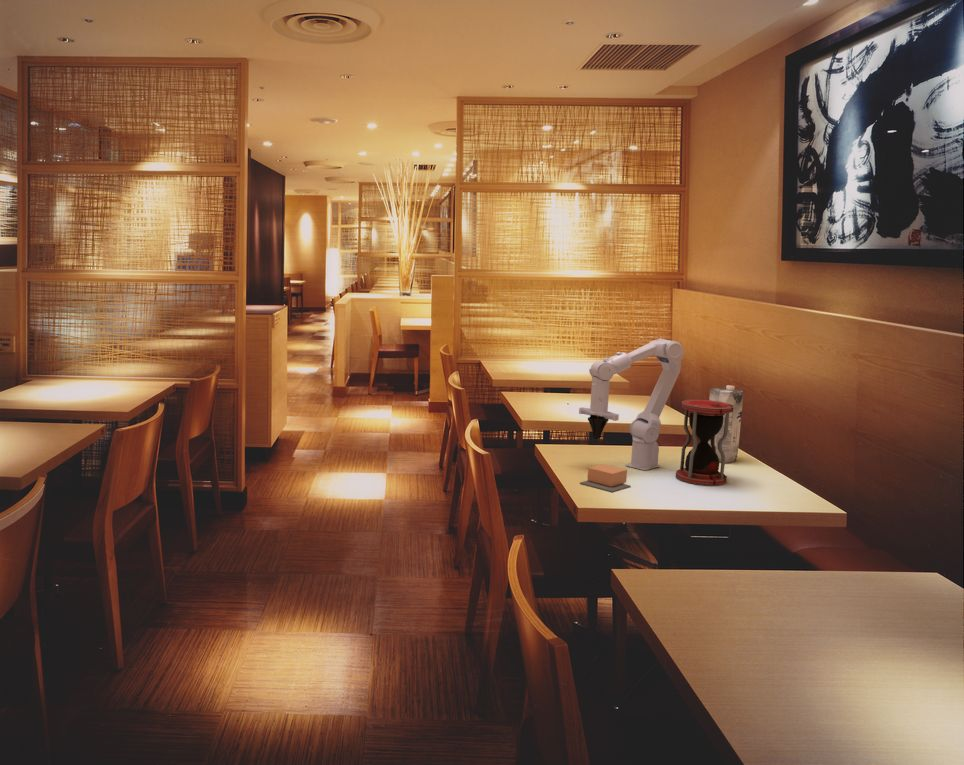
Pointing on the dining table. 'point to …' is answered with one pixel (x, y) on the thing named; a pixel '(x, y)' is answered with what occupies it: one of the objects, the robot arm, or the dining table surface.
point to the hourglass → (704, 442)
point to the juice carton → (734, 423)
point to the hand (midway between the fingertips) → (596, 438)
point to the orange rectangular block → (607, 475)
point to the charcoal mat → (603, 487)
